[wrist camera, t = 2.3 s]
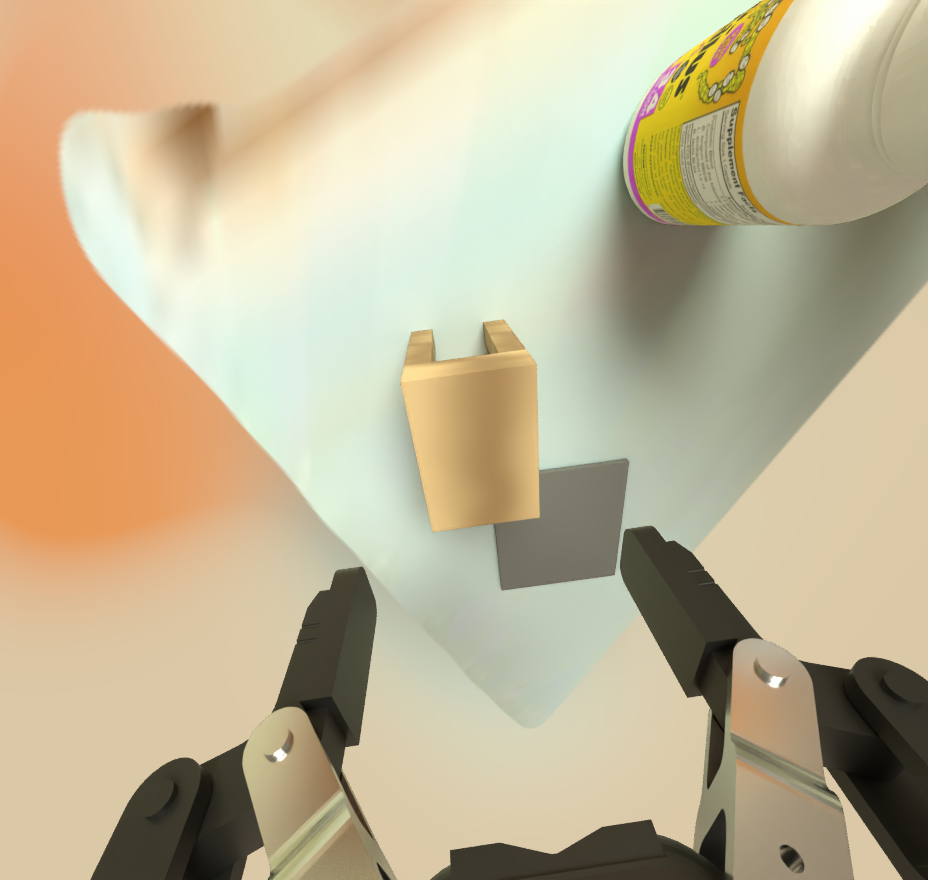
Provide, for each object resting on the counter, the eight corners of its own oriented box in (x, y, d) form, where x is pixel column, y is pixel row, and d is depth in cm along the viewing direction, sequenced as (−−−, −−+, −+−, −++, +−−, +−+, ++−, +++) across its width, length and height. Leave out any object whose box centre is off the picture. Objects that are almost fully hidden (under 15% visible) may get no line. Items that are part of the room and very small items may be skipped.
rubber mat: (490, 477, 27) (490, 480, 27) (626, 458, 27) (629, 461, 27) (501, 586, 33) (501, 590, 33) (612, 571, 33) (614, 575, 33)
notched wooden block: (433, 449, 26) (432, 531, 19) (411, 332, 22) (400, 382, 15) (511, 438, 26) (539, 517, 19) (503, 319, 22) (536, 363, 15)
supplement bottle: (748, 15, 16) (1471, -472, 5) (761, 182, 19) (1219, 121, 8) (599, 107, 17) (905, -114, 6) (634, 250, 20) (878, 279, 9)
